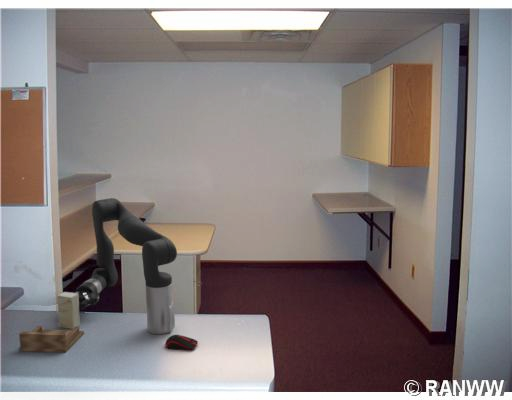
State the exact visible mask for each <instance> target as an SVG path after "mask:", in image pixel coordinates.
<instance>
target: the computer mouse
mask: <svg viewBox="0 0 512 400" xmlns="http://www.w3.org/2000/svg"><path fill="white" fill-rule="evenodd" d="M198 343H199V342H198V340H196V339H194V338H192V337H188V336H185V335H180V334H173V335H171V336H169V337H168V338H167V339H166V342H165V344H164V347H165V349H167V350H170V351H194V350H195V348H196V347H197V345H198Z"/></svg>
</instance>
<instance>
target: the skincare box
mask: <svg viewBox="0 0 512 400" xmlns="http://www.w3.org/2000/svg"><path fill="white" fill-rule="evenodd" d="M57 308H58V309H57V311H58V312H57V313H58V327H60V328H66V329H70V330H73V329H74V328H75V327H78V326H80V324H81V322H80V321H81V320H80V302H79V294H78V293H75V292H70V291H63V292H61V293H60V294H58V295H57Z"/></svg>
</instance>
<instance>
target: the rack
mask: <svg viewBox="0 0 512 400" xmlns="http://www.w3.org/2000/svg"><path fill="white" fill-rule="evenodd" d="M18 334H19V335H18V336H19V346H18V350H24V351H23V352H25V351H26V352H42V353H44V352H46V353H67V352H68V351H69V350H71V348H72V347H73V346H74V345H75V344H76V342H78V341H79V340H80V339H81V337H83V336H84V334H85V331H84V330H80V327H78V326H77V327H75V328H73V329H70V330H65V329H64V330H63V329H43V325H37V326H36V327H34V328H33V329H32V330H31V331H20V332H19V333H18Z"/></svg>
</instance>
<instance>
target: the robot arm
mask: <svg viewBox="0 0 512 400" xmlns="http://www.w3.org/2000/svg"><path fill="white" fill-rule="evenodd" d="M91 212H92V213H91V214H92V215H91V216H92V221H93V222H92V223H93V229H94V236H95V241H96V242H95V244H96V265H98V268H97V267H96V268H95V269H94V270H93V272H92V275H91V277H90V278H89V279H87V280H85V281H84V282H83V283H81V284H80V285H79V286H78V287H76V290H75V291H74V293H78V294H79V304H80V310H83V309H85V308H87V307H88V306H90V305H91V306H96V304H97V303H99V301H100V293H101V292H102V291H103V290H104V289H105V288H106V287H114V286H115V285H117V282H118V275H119V274H118V271H117V268H116V264H115V260H114V259H115V247H114V245H113V244H114V243H113V241H112V240H111V238H110V237H109V236H108V235H107V234H106V232H105V231H106V230H104V223H106V222H112V221H118V222H117V231H118V233H119V235H120V236H121V237H122V238H123V239H124V240H126V241H127V242H128V243H130V244H132V245H135V246H139V247H142V248H141V258H142V266H143V276H144V280H145V281H144V282H145V302H146V304H145V305H146V323H147V324H146V326H147V328H146V329H147V332H149V333H150V334H154V335H163V334H169V333H172V331H174V328H175V326H176V318H175V301H173V278H172V275H171V274H170V273H168V272H164V271H160V270H159V267H160V266H164V265H168V264H171V263H173V262H174V261H175V260H176V258H177V257H178V253H177V252H178V250H177V247H176V245H175V244H174V242H173V241H172V240H171V239H170V238H168V237H167V236H165V235H162V234H161V233H159V232H157V231H155V230H154V229H153V228H152V227H150V226H149V225H147V223H145V222H144V221H143V220H141V219H140V218H139V217H137V216H136V215H134V214H133V213H132V212H130V211H129V210H128V209H127V207H125V205H124V204H123V203H122V202H121V201H120V200H119V199H117V198H113V197H111V198H104V199H103V198H102V199H98V200H94V202H93V203H92V208H91Z"/></svg>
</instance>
